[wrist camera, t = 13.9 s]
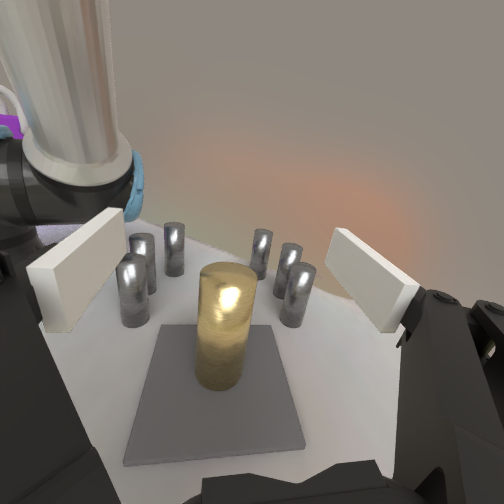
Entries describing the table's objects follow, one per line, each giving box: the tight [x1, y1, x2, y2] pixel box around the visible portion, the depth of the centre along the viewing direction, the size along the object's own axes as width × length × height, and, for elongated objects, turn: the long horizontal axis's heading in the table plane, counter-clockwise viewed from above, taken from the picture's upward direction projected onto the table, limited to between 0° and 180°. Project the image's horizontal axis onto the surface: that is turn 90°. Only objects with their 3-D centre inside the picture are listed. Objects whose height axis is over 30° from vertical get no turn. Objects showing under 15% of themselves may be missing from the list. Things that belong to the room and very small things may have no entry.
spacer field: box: [116, 222, 316, 328], centre depth 42 cm, size 29×18×10 cm, turn 98°
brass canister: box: [195, 262, 258, 391], centre depth 26 cm, size 6×6×13 cm
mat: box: [123, 325, 306, 466], centre depth 29 cm, size 16×16×1 cm
